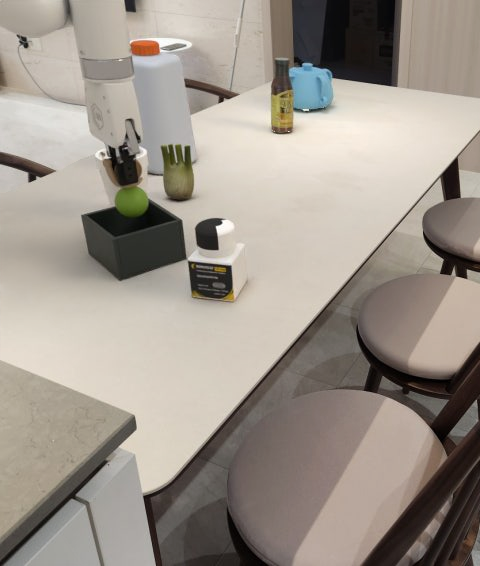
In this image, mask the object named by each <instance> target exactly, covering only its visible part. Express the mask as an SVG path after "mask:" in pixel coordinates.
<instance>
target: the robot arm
mask: <svg viewBox="0 0 480 566" xmlns="http://www.w3.org/2000/svg"><path fill="white" fill-rule="evenodd" d="M0 27H1V28H2V29H5V30H7V31H9V32H11V33H13V34H15V35H17V36H21V37H23V38H27V39H28V38H29V39H39V38H43V37H45V36H49V35H50V34H52V33H55V32H57V31H59V30H62V29H65V28H71V27H72V28H73V32H74V37H75V38H74V39H75V43H76V48H77V49H76V50H77V55H78V61H79V66H80V72H81V77H82V80H83V83H84V84H83V85H84V86H83V87H84V89H83V90H84V99H85V107H86V114H87V115H86V116H87V122H88V129H89V132H90V134H91V135H92V136H93V137H94V138H96V139H97V140H99V141H100V142H102V143H104V148H106V153H107V156H108V157H111V158H108V159H110V160H111V162H112V168H113V170H114V169H115V166H116V170H117V176H118V183H119V185H120V186H126V185H130V184H134V183H138V181H139V180H138V173H137V167H136V154H140V149H139V146H138V144H139V143H141V142H142V139H143V135H142V125H141V119H140V113H139V108H138V103H137V98H136V94H135V90H134V86H133V82H132V79H134V78H135V75H134V67H133V60H132V53H131V46H130V44H131V40H130V32H129V25H128V17H127V9H126V3H125V0H0ZM124 140H126V142H124ZM127 147H128V148H127ZM125 148H127V149H125Z"/></svg>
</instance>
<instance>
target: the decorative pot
mask: <svg viewBox="0 0 480 566" xmlns="http://www.w3.org/2000/svg"><path fill="white" fill-rule="evenodd" d="M313 65H314V64H313V63H310V62H304V63H302V64H301V66H299V67H296V66H293V67H289V77H290V81H291V84H292V88H293V109H297V110H302V109H310V110H316V109H317V110H319V109H318V108H323V107H325V108H326V107H328V105H329V106H330V105H331V104H332V102H333V101H334V90H333V89H334V88H333V85H332V81H333V73H332V71H331V70H329V69H327V68H319V67H315V66H313Z"/></svg>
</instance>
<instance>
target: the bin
mask: <svg viewBox="0 0 480 566" xmlns="http://www.w3.org/2000/svg"><path fill="white" fill-rule="evenodd" d="M148 200H149V204H148V208H147V210H146V211H145V212H144V213H143V214H142V215H140V216H138V217H127V216H124V215H122V214H121V213H120V212H119V211H118V210H117V208H116V206H114V207H111V206H110V207H107V208H103V209H99V210H95V211H91V212H87V213H84V214H80V218H81V223H82V228H83V232H84V237H85V243H86V248H87V251H88V255H89V256H91V258H93V259H94V260H95V261H96V262H98V263H99V264H100V265H101V266H102V267H103V268H104V269H106V270H107V271H108V272H109V273H110V274H111V275H113V276H114V277H115V278H116V279H117V280H119V281H123V280H126V279H130V278H132V277H135V276H138V275H142V274H144V273H147V272H148V273H149V272H150V271H154V270H156V269H159V268H164V267H166V266H169V265H171V264H175V263H177V262H178V263H179V262H181V261H184V260H188V258H187V250H186V241H185V232H184V223H183V219H181V218H180V217H178V216H177V215H175V214H174V213H172V212H171V211H169V210H168V209H166V208H165V207H163V206H161V205H160V204H159V203H156V202H155V201H153V200H152V199H151V198H149V197H148Z"/></svg>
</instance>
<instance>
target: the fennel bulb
mask: <svg viewBox="0 0 480 566" xmlns="http://www.w3.org/2000/svg"><path fill="white" fill-rule="evenodd" d="M168 148H169V153H168ZM168 148H167V145H161V151H162V156H163V163H164V171H163V174H162V180H163V182H162V183H163V189H164V193H165V195H166V196H167V197H169V198H171V199H173V200H180V201H181V200H182V201H184V200H187V199H189V198H191V197H192V196H193V192H194V188H195V175H194V169H193V162H191V150H190V145H184V160H185V162H184V160H183V154H182V147H181V144H175V150H176V156H177V163H176V159H175V154H174V149H173V144H168Z"/></svg>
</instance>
